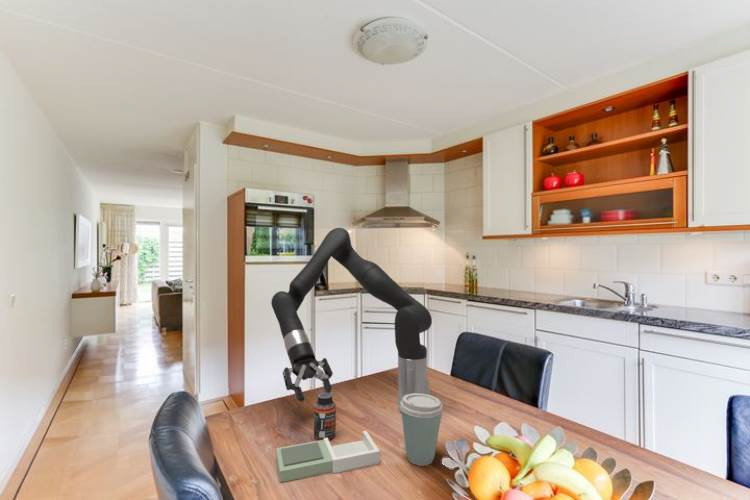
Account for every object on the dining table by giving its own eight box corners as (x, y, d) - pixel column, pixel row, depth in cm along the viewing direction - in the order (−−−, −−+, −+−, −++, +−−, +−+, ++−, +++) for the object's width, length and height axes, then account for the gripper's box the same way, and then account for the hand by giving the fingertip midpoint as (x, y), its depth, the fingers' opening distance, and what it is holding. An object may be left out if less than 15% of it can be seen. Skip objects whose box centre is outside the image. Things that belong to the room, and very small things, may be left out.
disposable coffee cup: (415, 442, 97) (414, 386, 97) (451, 457, 91) (451, 396, 91) (391, 460, 89) (390, 399, 89) (429, 478, 82) (429, 411, 82)
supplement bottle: (326, 444, 97) (326, 401, 97) (309, 438, 100) (309, 396, 100) (340, 434, 102) (339, 393, 102) (323, 428, 105) (323, 389, 105)
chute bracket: (366, 441, 98) (366, 430, 98) (379, 463, 88) (379, 451, 88) (323, 449, 94) (323, 438, 94) (333, 473, 84) (333, 460, 84)
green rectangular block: (324, 449, 94) (324, 437, 94) (333, 471, 85) (333, 458, 85) (276, 458, 90) (276, 446, 90) (280, 482, 81) (280, 469, 81)
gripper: (315, 349, 121) (333, 395, 113) (273, 358, 113) (289, 409, 105) (322, 337, 117) (341, 384, 108) (279, 346, 109) (296, 398, 100)
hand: (315, 396), depth 106 cm, fingers open, 8 cm apart
